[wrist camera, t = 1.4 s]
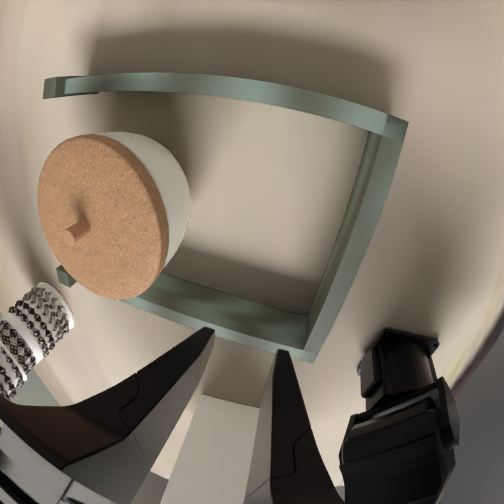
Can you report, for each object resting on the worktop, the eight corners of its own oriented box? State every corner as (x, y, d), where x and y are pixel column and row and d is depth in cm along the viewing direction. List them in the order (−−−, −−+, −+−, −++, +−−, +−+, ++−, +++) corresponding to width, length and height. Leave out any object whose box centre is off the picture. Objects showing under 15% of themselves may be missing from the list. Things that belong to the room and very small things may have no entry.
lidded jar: (103, 120, 19) (12, 141, 11) (221, 129, 18) (144, 149, 10) (105, 232, 25) (36, 284, 17) (206, 262, 23) (151, 339, 15)
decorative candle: (75, 302, 32) (-39, 435, 10) (77, 339, 36) (-10, 453, 15) (33, 268, 31) (-79, 375, 10) (39, 308, 36) (-50, 405, 15)
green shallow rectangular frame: (391, 117, 15) (415, 119, 11) (315, 331, 24) (311, 374, 20) (87, 77, 18) (44, 79, 13) (89, 257, 27) (59, 282, 23)
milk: (207, 428, 39) (152, 559, 17) (201, 394, 34) (125, 560, 11) (279, 445, 37) (240, 584, 15) (291, 414, 32) (242, 597, 9)
